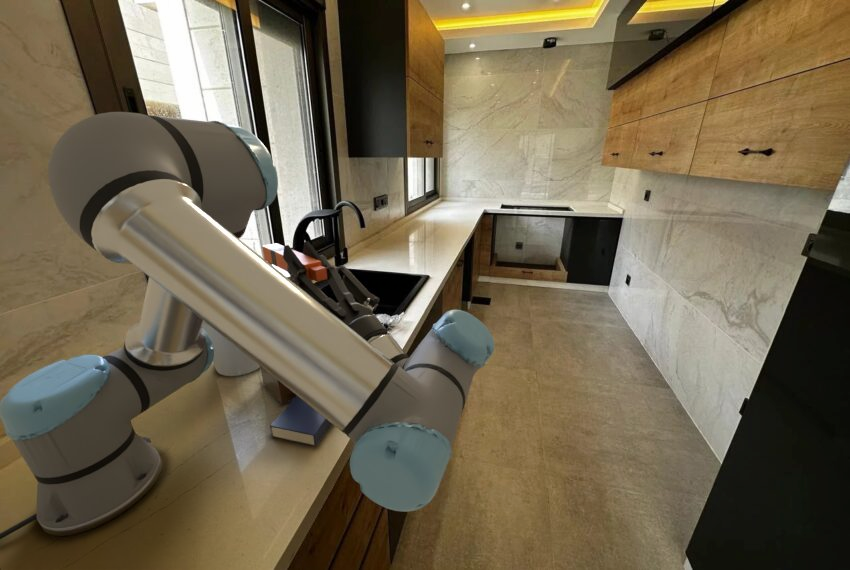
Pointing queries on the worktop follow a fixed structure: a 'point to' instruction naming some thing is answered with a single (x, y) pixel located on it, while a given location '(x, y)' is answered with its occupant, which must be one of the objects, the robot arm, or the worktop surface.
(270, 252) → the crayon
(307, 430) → the book
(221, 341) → the utensil holder
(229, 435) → the worktop surface
